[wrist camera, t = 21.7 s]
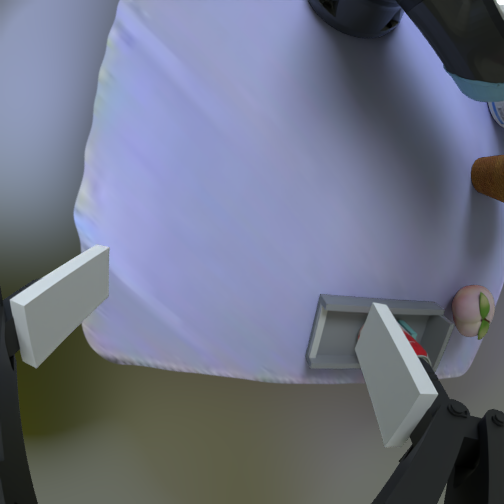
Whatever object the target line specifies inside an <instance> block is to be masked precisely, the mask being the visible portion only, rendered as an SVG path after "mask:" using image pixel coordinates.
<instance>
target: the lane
mask: <svg viewBox="0 0 504 504" xmlns="http://www.w3.org/2000/svg"><path fill="white" fill-rule="evenodd" d="M373 302H374V303H379V304H385V305H387V307H388V308H389V310H390V311H391V313H392V315H393V316H394V318H395V320H396V321H397V322H398V320H403V321H404V322H406V323H407V324H408V325H409V326H410V327H411V328H412V329H413V330H414V331H415V332H416V333H417V336H416V339H415V340H416V341H417V342H418V343H419V344H420V345H421V346H422V347H423V348H424V350H425V351H426V352H427V354H428V358H429V360H430V362H431V367H432V369H433V371H434V372H435V371H436V369H437V367H438V365H439V362H440V360H441V358H442V355H443V353H444V351H445V348H446V346H447V343H448V341H449V338H450V335H451V333H452V330H453V328H454V325H455V324H453V323H452V322H451V321H450V320H448V319H447V318H446V317H445V316H443V315H444V312H445V309H443V308H442V307H441V306H439V305H438V304H437V303H435V302H426V301H409V300H393V299H378V298H364V297H350V296H337V295H325V294H320V297H319V302H318V306H317V311H316V315H315V319H314V323H313V328H312V332H311V336H310V340H309V344H308V348H307V352H306V359H307V362H308V364H309V367H310V368H315V369H361V367H360V363H359V360H358V357H357V354H356V351H355V347H356V344H357V342H358V334H359V331H360V329H361V327H362V325H363V324H364V323H365V322H366V319H367V316H368V314H369V311H370V308H371V305H372V303H373Z"/></svg>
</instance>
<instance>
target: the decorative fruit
mask: <svg viewBox="0 0 504 504" xmlns="http://www.w3.org/2000/svg"><path fill="white" fill-rule="evenodd" d="M494 311H495V305H494V299H493V296H492V294H491V293H490V291H489V290H488V289H486V288H485V287H483V286H479V285H469V286H465V287H463V288H461V289H460V290H459V291H458V292H457V293H456V295H455V297H454V299H453V302H452V312H453V319H454V322H455V325H456V327H457V329H458V331H459V332H460V333H461V334H462V335H464V336H467V337H474V336H477V335H478V340H480V339H482V338H483V337H484V336H485V334H486V333H487V331H488V328H489V324H490V323H491V321H492V319H493V316H494Z"/></svg>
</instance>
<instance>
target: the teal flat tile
mask: <svg viewBox="0 0 504 504" xmlns="http://www.w3.org/2000/svg"><path fill="white" fill-rule="evenodd" d="M398 323H399V324H400V325H401V326H402V327H403V328H404V329H405V330H406V331H407V332H408V333H409V334H410V335H411V336H412V337H413V338H414V339H416V336H417V333H416V332H415V331H414V330H413V329H412V328H411V327H410V326H409V325H408V324H407V323H406V322H404V321H403V320H398Z"/></svg>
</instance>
